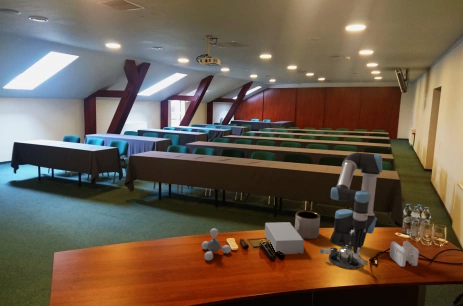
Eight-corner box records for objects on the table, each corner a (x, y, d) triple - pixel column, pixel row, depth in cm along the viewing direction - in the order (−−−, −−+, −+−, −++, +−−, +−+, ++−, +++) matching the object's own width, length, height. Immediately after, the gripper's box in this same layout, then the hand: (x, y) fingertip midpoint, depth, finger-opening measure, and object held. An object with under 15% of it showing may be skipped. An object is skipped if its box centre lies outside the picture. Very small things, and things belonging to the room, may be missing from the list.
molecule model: (201, 269, 201) (213, 252, 189) (189, 248, 208) (200, 230, 197) (225, 259, 214) (238, 242, 202) (213, 240, 222) (225, 222, 210)
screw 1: (350, 256, 205) (351, 247, 204) (343, 254, 208) (344, 245, 207) (354, 250, 214) (355, 241, 213) (347, 248, 216) (348, 239, 215)
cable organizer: (418, 268, 195) (420, 251, 193) (401, 268, 195) (403, 250, 193) (403, 256, 210) (406, 240, 208) (388, 256, 209) (390, 239, 207)
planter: (319, 232, 245) (321, 212, 242) (317, 241, 229) (319, 220, 226) (296, 228, 251) (297, 209, 248) (292, 237, 234) (293, 216, 232)
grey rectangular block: (335, 256, 204) (336, 247, 203) (337, 259, 200) (338, 250, 199) (319, 255, 205) (320, 246, 204) (321, 259, 200) (321, 250, 199)
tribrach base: (321, 256, 206) (322, 245, 205) (344, 250, 216) (345, 239, 214) (345, 272, 189) (347, 259, 188) (369, 264, 198) (370, 252, 197)
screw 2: (349, 263, 196) (350, 254, 195) (354, 261, 198) (355, 252, 197) (363, 271, 187) (364, 261, 186) (368, 269, 189) (369, 260, 188)
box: (289, 234, 240) (290, 222, 238) (303, 253, 210) (304, 239, 209) (264, 235, 237) (265, 222, 236) (275, 254, 208) (276, 240, 206)
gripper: (357, 222, 175) (353, 263, 179) (373, 219, 181) (369, 258, 185) (346, 218, 182) (342, 257, 185) (362, 215, 188) (358, 253, 191)
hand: (355, 258), depth 185 cm, fingers closed
